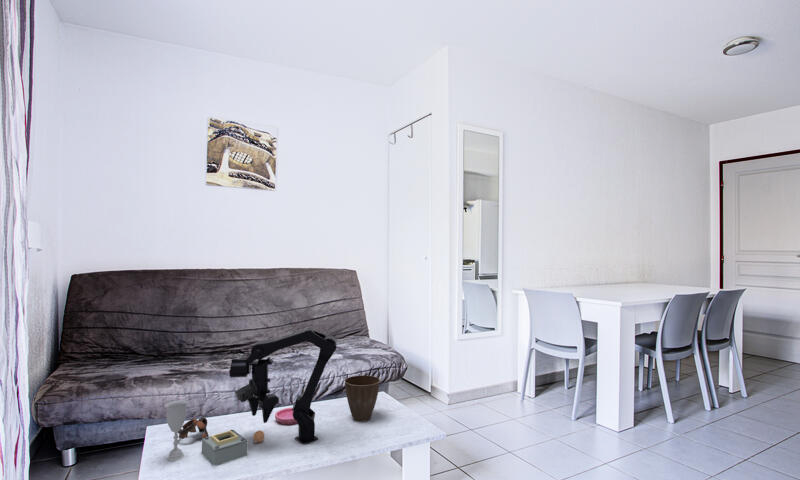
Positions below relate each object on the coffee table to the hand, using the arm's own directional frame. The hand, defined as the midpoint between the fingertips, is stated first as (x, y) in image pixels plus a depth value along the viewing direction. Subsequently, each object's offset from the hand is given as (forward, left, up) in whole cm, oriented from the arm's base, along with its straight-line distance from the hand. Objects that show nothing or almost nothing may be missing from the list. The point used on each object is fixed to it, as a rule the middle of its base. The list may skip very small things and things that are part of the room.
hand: (259, 419), depth 158 cm
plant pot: (-8, -42, -9) cm, 44 cm away
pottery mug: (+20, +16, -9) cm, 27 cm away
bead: (0, 0, -8) cm, 8 cm away
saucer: (+11, -19, -9) cm, 24 cm away
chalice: (+8, +26, -9) cm, 29 cm away
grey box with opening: (-1, +13, -8) cm, 16 cm away
